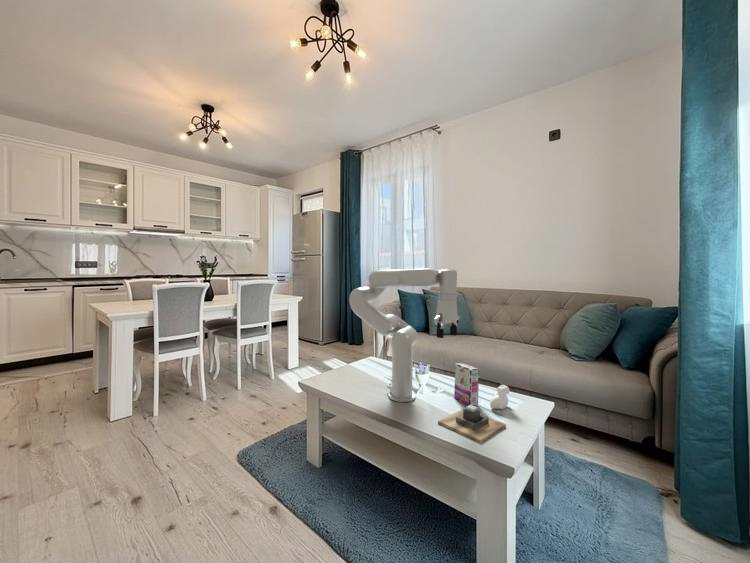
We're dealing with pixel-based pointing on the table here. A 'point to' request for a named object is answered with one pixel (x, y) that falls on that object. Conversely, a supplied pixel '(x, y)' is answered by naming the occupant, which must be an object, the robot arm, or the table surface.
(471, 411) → the connector plug
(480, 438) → the end holder
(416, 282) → the robot arm
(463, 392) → the candy bar box
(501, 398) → the bust
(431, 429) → the table surface
